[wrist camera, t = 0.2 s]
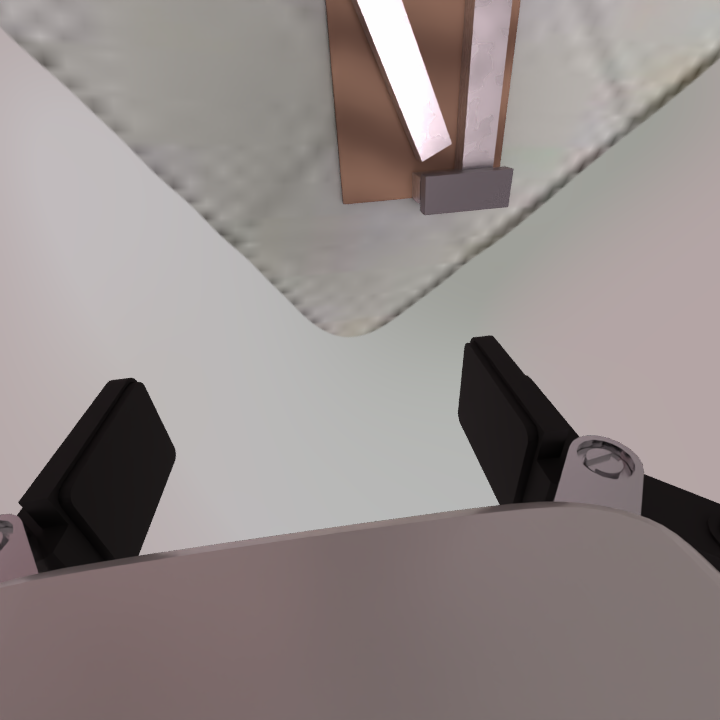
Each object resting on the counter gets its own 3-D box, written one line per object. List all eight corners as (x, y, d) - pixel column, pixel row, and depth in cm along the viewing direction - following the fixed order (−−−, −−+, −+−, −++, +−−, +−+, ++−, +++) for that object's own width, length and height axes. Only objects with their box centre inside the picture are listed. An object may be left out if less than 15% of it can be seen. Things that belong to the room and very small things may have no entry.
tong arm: (296, -129, 24) (295, -149, 23) (336, -163, 24) (338, -185, 22) (415, 159, 34) (421, 162, 33) (445, 141, 34) (453, 143, 32)
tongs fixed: (415, -170, 24) (427, -202, 22) (519, -174, 25) (543, -206, 22) (411, 197, 36) (419, 204, 34) (481, 191, 37) (494, 197, 34)
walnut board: (309, -180, 24) (310, -192, 23) (536, -188, 25) (545, -200, 24) (342, 201, 37) (343, 204, 36) (491, 187, 38) (496, 189, 37)
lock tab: (421, 174, 32) (425, 176, 31) (505, 166, 33) (513, 168, 31) (420, 211, 34) (424, 215, 33) (500, 203, 34) (507, 206, 33)
